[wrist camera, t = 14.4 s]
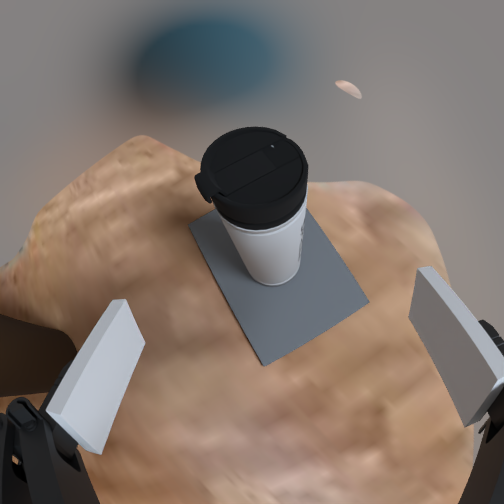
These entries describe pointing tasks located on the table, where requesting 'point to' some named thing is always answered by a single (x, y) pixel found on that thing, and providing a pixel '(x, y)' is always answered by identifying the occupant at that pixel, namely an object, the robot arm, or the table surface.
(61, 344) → the olive oil
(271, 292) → the rubber mat
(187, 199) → the table surface
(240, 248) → the travel mug
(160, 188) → the table surface
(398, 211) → the table surface
